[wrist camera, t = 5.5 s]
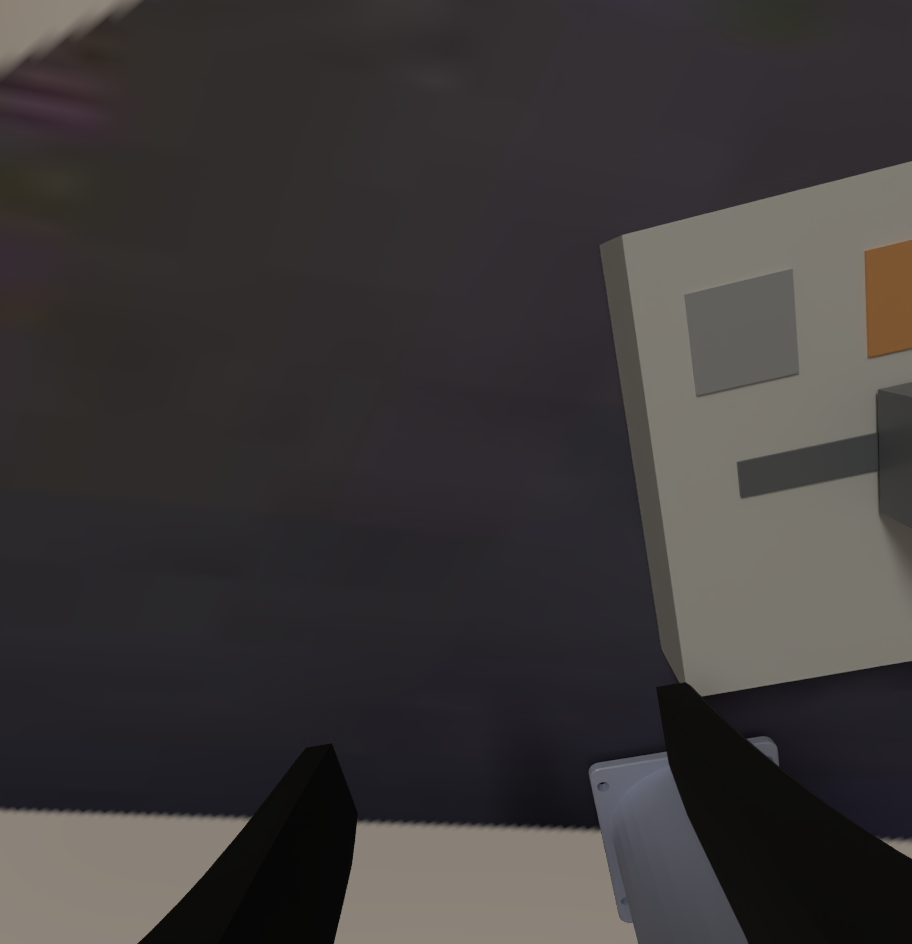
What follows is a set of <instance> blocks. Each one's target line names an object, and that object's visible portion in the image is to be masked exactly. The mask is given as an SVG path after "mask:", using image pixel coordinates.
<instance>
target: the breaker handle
mask: <svg viewBox="0 0 912 944" xmlns="http://www.w3.org/2000/svg"><path fill="white" fill-rule="evenodd" d="M878 424H879V469H880V512H881V513H883V514H885V515H887V516H889V517H891V518H893V519H894V520H896V521H898V522H900V523H902V524H904V525H906V526H908V527H910V528H912V382H910V383H905V384H901V385H896V386H891V387H887V388H882V389H878Z"/></svg>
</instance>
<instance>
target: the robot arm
mask: <svg viewBox="0 0 912 944" xmlns="http://www.w3.org/2000/svg"><path fill="white" fill-rule="evenodd" d="M656 689H657V695H658V701H659V707H660V713H661V720H662V726H663V732H664V738H665V744H666V751H667V752H662V753H655V754H649V755H643V756H637V757H631V758H624V759H618V760H612V761H606V762H600V763H596V764H593V765H592V766H591V767H590V769H589V777H590V782H591V787H592V791H593V796H594V801H595V805H596V810H597V815H598V820H599V824H600V829H601V834H602V838H603V843H604V848H605V852H606V857H607V861H608V867H609V871H610V876H611V880H612V885H613V890H614V895H615V899H616V904H617V909H618V913H619V917H620V919H621V920H623V921H624V922H627V923H632V922H633V924H634V928H635V932H636V936H637V940H638V944H912V859H911V858H909V857H907V856H906V855H904V854H902V853H901V852H899V851H897V850H895V849H894V848H893V847H891V846H889V845H888V844H886V843H885V842H883V841H882V840H880V839H879V838H877V837H876V836H874V835H872V834H871V833H869V832H868V831H866V830H865V829H863V828H862V827H860V826H859V825H857V824H856V823H854V822H853V821H852V820H850V819H849V818H847V817H846V816H844V815H843V814H841V813H840V812H838V811H837V810H836V809H834V808H833V807H831V806H830V805H829V804H827V803H826V802H824V801H823V800H822V799H820V798H819V797H818V796H816V795H815V794H814V793H812V792H811V791H810V790H808V789H807V788H806V787H805V786H803V785H802V784H801V783H799V782H798V781H797V780H796V779H794V778H793V777H792V776H790V775H789V774H788V773H787V772H785V771H784V770H783V769H782V768H780V767H779V759H778V749H777V746H776V745H775V743H774V742H773V740H772V739H771V738H769V737H766V736H761V737H755V738H748V739H746V738H745V737H744V736H743V735H742V734H741V733H739V732H738V731H737V730H736V729H735V728H734V727H733V726H732V725H731V724H730V723H729V722H727V721H726V720H725V719H724V718H723V717H722V716H721V715H720V714H719V713H718V712H717V711H716V710H715V709H714V708H713V707H712V706H711V705H710V704H709V703H708V702H707V701H706V700H705V699H704V698H703V697H702V696H701V695H700V694H699V693H698V692H697V691H696V690H695V689H694V688H693V687H692V686H691V685H689V684H688V683H686V682H684V683H678V684H672V685H666V686H661V687H656ZM602 782H606V783H604V784H599V783H602ZM357 816H358V813H357V810H356V807H355V805H354V802H353V799H352V797H351V794H350V791H349V788H348V786H347V783H346V780H345V778H344V775H343V772H342V770H341V767H340V764H339V761H338V759H337V756H336V753H335V751H334V748H333V745H332V743H331V744H325V745H320V746H314V747H308V748H306V749H305V750H304V751H303V752H302V754H301V755H300V756H299V757H298V759H297V760H296V761H295V762H294V764H293V765H292V766H291V768H290V769H289V770H288V771H287V773H286V774H285V775H284V777H283V778H282V779H281V781H280V782H279V783H278V784H277V786H276V787H275V788H274V790H273V791H272V792H271V794H270V795H269V796H268V798H267V799H266V800H265V801H264V803H263V804H262V805H261V806H260V808H259V809H258V810H257V812H256V813H255V814H254V815H253V817H252V818H251V819H250V820H249V822H248V823H247V824H246V826H245V827H244V828H243V829H242V831H241V832H240V833H239V834H238V835H237V837H236V838H235V839H234V840H233V841H232V843H231V844H230V845H229V846H228V847H227V848H226V850H225V851H224V852H223V853H222V854H221V855H220V857H219V858H218V859H217V860H216V861H215V863H214V864H213V865H212V866H211V867H210V868H209V870H208V871H207V872H206V873H205V875H204V876H203V877H202V878H201V879H200V880H199V881H198V882H197V883H196V885H195V886H194V887H193V888H192V889H191V890H190V891H189V892H188V893H187V894H186V895H185V896H184V897H183V899H182V900H181V901H180V902H179V903H178V904H177V905H176V906H175V907H174V908H173V909H172V910H171V911H170V912H169V913H168V914H167V915H166V916H165V917H164V918H163V919H162V920H161V921H160V922H159V924H157V925H156V926H155V927H154V928H153V929H152V931H150V932H149V933H148V934H147V935H146V936H145V937H144V938H143V939H142V940H141V941H140V942H139V943H138V944H334V940H335V936H336V932H337V927H338V923H339V919H340V915H341V910H342V906H343V902H344V897H345V893H346V889H347V884H348V880H349V875H350V870H351V866H352V859H353V852H354V844H355V834H356V825H357Z"/></svg>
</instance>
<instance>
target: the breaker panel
mask: <svg viewBox="0 0 912 944" xmlns="http://www.w3.org/2000/svg"><path fill="white" fill-rule="evenodd" d="M599 246H600V252H601V259H602V265H603V272H604V278H605V285H606V291H607V298H608V304H609V311H610V317H611V324H612V330H613V337H614V343H615V350H616V356H617V363H618V369H619V376H620V382H621V389H622V395H623V402H624V408H625V415H626V421H627V428H628V434H629V441H630V447H631V454H632V460H633V467H634V473H635V480H636V486H637V493H638V499H639V506H640V512H641V519H642V525H643V532H644V538H645V545H646V551H647V558H648V564H649V571H650V577H651V584H652V590H653V596H654V603H655V609H656V616H657V622H658V629H659V635H660V642H661V648H662V651H663V653H664V655H665V657H666V658H667V660H668V662H669V664H670V666H671V668H672V670H673V672H674V673H675V675H676V677H677V679H678V681H679V683H684V682H686V683H688V684H689V685H691V686H692V687H693V688H694V689H695V690H696V691H697V692H698V693H699V694H700V695H701V696H707V695H713V694H719V693H725V692H731V691H737V690H743V689H749V688H755V687H760V686H766V685H772V684H778V683H784V682H790V681H796V680H802V679H807V678H813V677H819V676H825V675H831V674H837V673H843V672H849V671H855V670H860V669H866V668H872V667H878V666H884V665H890V664H896V663H902V662H907V661H912V528H910V527H908V526H906V525H904V524H902V523H900V522H898V521H896V520H894V519H893V518H891V517H889V516H887V515H885V514H883V513H881V512H880V469H879V424H878V389H882V388H887V387H891V386H896V385H901V384H905V383H910V382H912V161H911V162H908V163H904V164H900V165H896V166H892V167H888V168H884V169H880V170H876V171H872V172H868V173H864V174H860V175H856V176H853V177H849V178H845V179H841V180H837V181H833V182H829V183H825V184H821V185H817V186H813V187H809V188H805V189H802V190H798V191H794V192H790V193H786V194H782V195H778V196H774V197H770V198H766V199H762V200H758V201H754V202H751V203H747V204H743V205H739V206H735V207H731V208H727V209H723V210H719V211H715V212H711V213H707V214H703V215H699V216H696V217H692V218H688V219H684V220H680V221H676V222H672V223H668V224H664V225H660V226H656V227H652V228H648V229H645V230H641V231H637V232H633V233H629V234H625V235H621V236H619V237H617V238H615V239H612V240H610V241H608V242H606V243H603V244H601V245H599Z"/></svg>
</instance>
